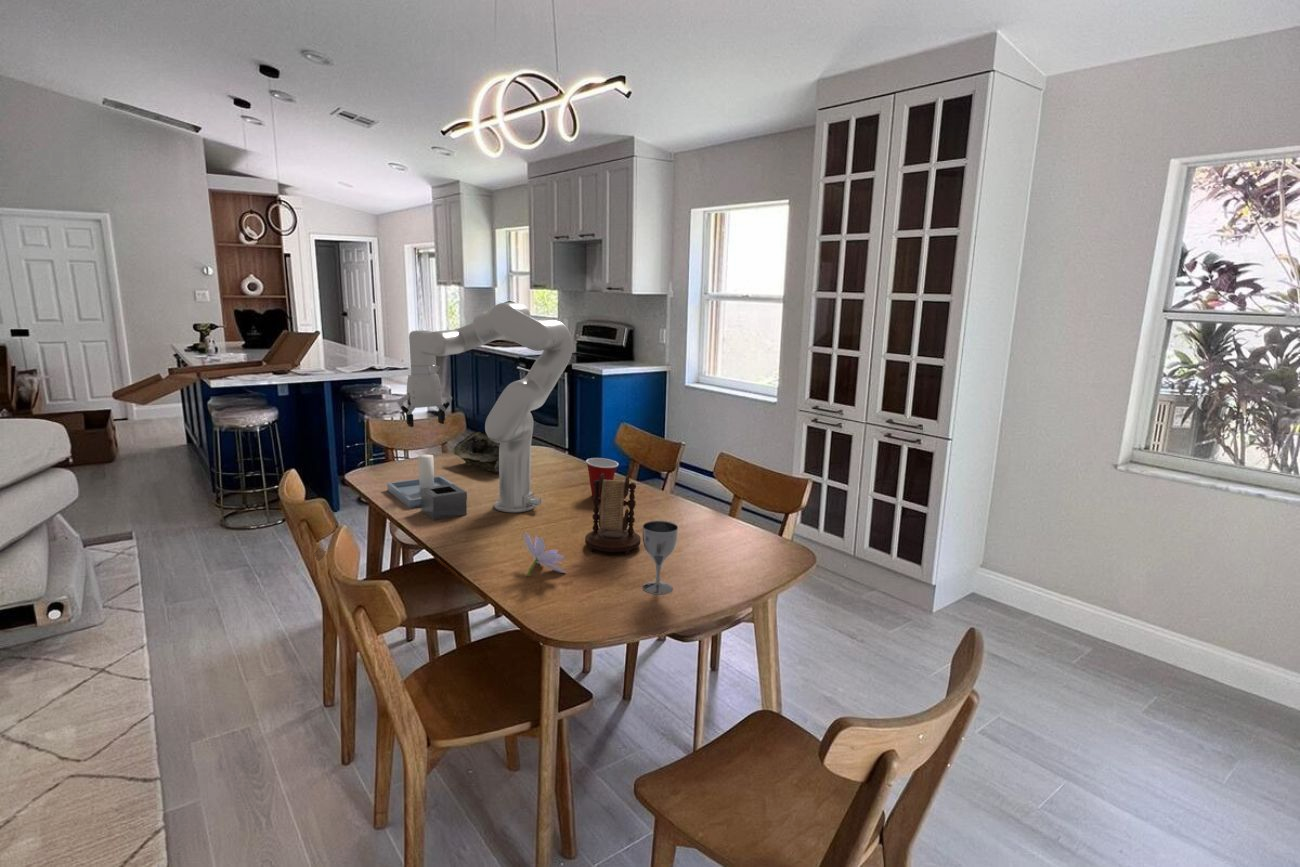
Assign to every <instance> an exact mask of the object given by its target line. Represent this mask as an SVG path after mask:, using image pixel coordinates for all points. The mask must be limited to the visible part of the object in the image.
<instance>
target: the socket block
mask: <svg viewBox="0 0 1300 867" xmlns="http://www.w3.org/2000/svg"><path fill="white" fill-rule="evenodd" d="M454 484H455V483H453V484H449V485H442V486H435V487H428V488H421V507H420V508H421V512H422V513H423V514H425V515H426V516H428V517H429V518H430V519H431V520H433V521H439V520H443V519H450V518H454V517H459V516H460V517H461V516H466V515H467V514H468V512H467V507H468V506H467V499H466V492H467V491H466V490H465V489H463V488H461V487H460V486H458V485H457V484H455V485H454ZM456 485H457V486H458V487H457V486H456ZM459 487H460V488H459ZM462 489H463V490H462ZM464 490H465V491H466V492H465V491H464Z"/></svg>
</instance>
